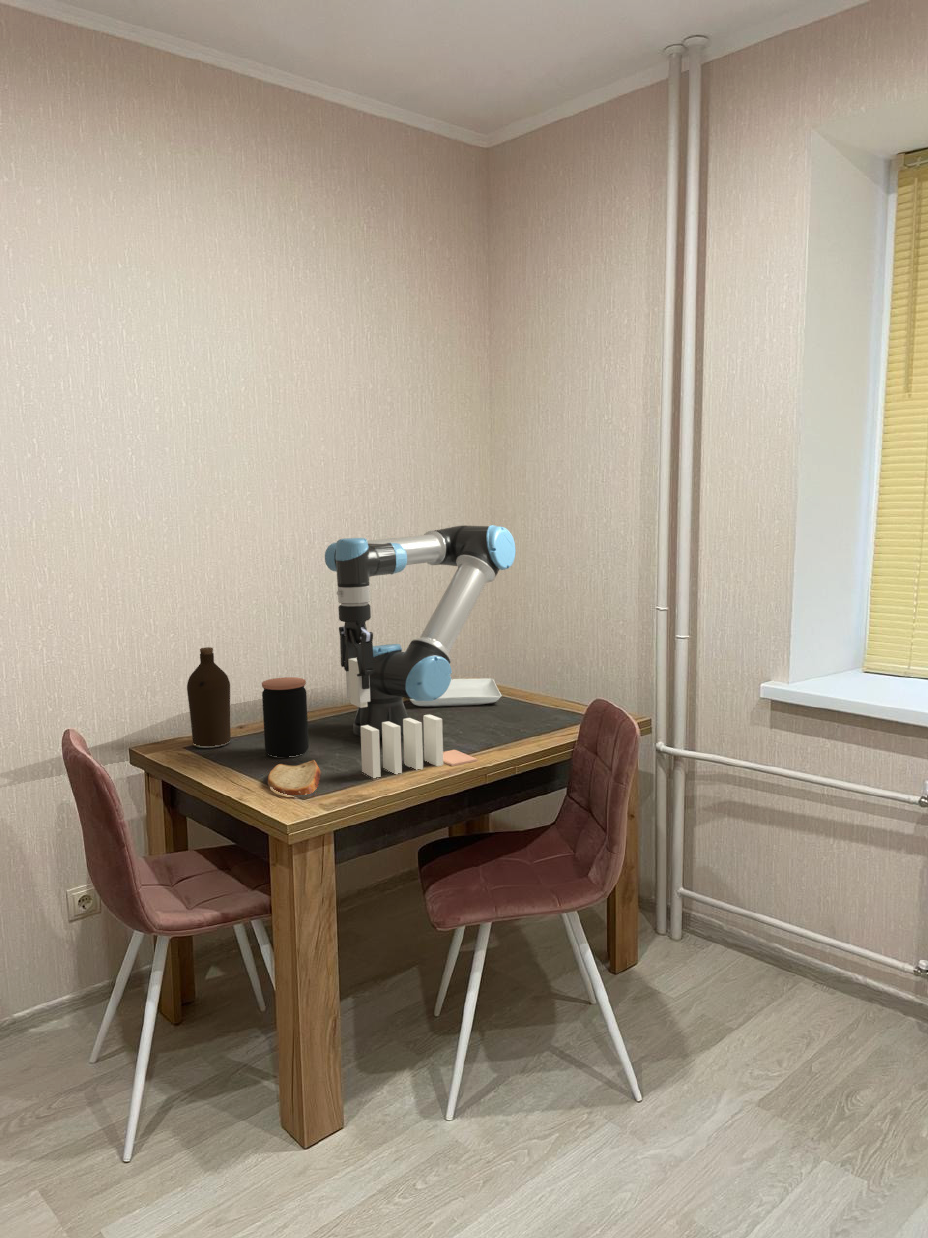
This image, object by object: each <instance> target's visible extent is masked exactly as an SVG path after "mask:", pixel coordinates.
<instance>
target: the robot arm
mask: <svg viewBox="0 0 928 1238" xmlns="http://www.w3.org/2000/svg"><path fill="white" fill-rule="evenodd" d="M515 558H516V543H515V539H514V536H513V535H512V533H511V532H510V531H509V529H508V528H506V527H503V526H498V525H495V524H494V525H493V524H492V525H488V526H487V525H455V526H451V527H446V528H441V529H436V530H428V531H426V532H425V533H424V534H422V535H412V536H402V537H392V538H382V539H381V538H380V539H372V540H367V539H366V538H365V537H350V538H348V537H347V538H340V539H338V540H337V541H336V542H333V543H331V544H330V545H328V546H327V548H326V549H325V552H324V562H325V564H326V566H327V568H328V569H329V570H330V571H332V572H336V579H337V581H336V582H337V591H336V595H337V598H338V599H337V601H338V603H339V604H340V605H339V606H338V620H339V621H340V622H343V623H344V626H339V627H338V633H339V641H340V642H339V644H340V666H341V668H343V669H344V671H345V678H346V680H345V681H346V683H345V684H346V698H347V699H350V684H349V664H348V659H351V658H357V663H358V668H359V674H357V676H358V696H359V703H364V702H367V707H363V708H360V707H358V706H357V710H356V713H355V717H354V721H353V726H352V727H353V728H352V729H353V734H354V735H356V736H359V737H361V726H364V725H369V726H371V727H373V728H376V729H378V730H379V739H382V722H388V721H389V722H392V723H394V724H396V725H399V726H401V736H402V735H403V736H404V734H403V719H406V718H409V715H408V712H407V709H406V706H405V705H404V699H409V700H410V699H413V700H416V701H433V700H436V699H438V698H439V697H441V696H442V695H443V694H444V693H445V692H446V690H447V689H448V687H449V685H450V682H451V679H452V676H451V675H452V674H453V673H452V667H451V662H452V660H451V656H450V652H451V650H452V648H453V647H454V644H455V643H456V640H457V639H458V637H459V635H460V633H461V631H462V629H463V628H464V626H465V624H466V622H467V620H468V618H469V616H470V614H471V612H472V610H473V608H474V607H475V605H476V603H477V601H478V599H479V597H480V595H481V593H482V592H483V590H484V588H485V586H486V584H487V583H492V582H493V581H495V578H496V577H497V575H498V573H499V572H500V571H505V570H508V569H510V568H511V567H512V565H513V564H514V562H515ZM418 564H428V565H430V566H438V565H439V566H440V565H441V566H449V567H450V566H452V567H457V569H456V571H455V572H454V575H453V577H452V578H451V579H450V582H449V584H448V585H447V587H446V589H445V591H444V592H443V595H442V596H441V599H440V600H439V603H438V604H437V606H436V608H435V609H434V611H433V613H432V615H431V617H430V618H429V620H428V622H427V624H426V626H425V628H424V629H423V631H422V633H421V634H420V636H419V637H418V638H415V639H412V640H411V641H410V643H409V645H408V647H407V648H406V649H405V651H403V648H402V646H401V645H400V644H399V643H391V644H390V643H389V644H381V645H373V644H374V643H373V641H374V640H373V639H374V633H373V632H372V631H368V629H367V624H366V622H367V621H370V620H371V617H372V615H371V614H372V613H371V605H370V603H369V602H370V601H371V589H370V587H371V586H370V578H371V577H376V576H385V575H386V576H387V575H394V574H398V573H401V572H403V571H404V570H405V568H406V566H410V565H418Z"/></svg>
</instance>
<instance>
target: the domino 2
mask: <svg viewBox="0 0 928 1238" xmlns="http://www.w3.org/2000/svg"><path fill="white" fill-rule="evenodd" d="M380 743H381V742H380V738H379V730H378V729H376V728H373V727H371V726H369V725H364V726H361V736H360V745H361V746H360V748H361V749H360V750H361V752H360V753H361V773H362V772H364V773H366V774H367V775H369V776H371V777H373V778H376V777H381V750H380V748H381V747H380V746H381V745H380ZM367 775H366V776H367ZM381 778H382V777H381Z"/></svg>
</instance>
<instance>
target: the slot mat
mask: <svg viewBox="0 0 928 1238" xmlns="http://www.w3.org/2000/svg"><path fill="white" fill-rule="evenodd" d="M469 762H470V763H474V762H478V759H477V758H476V757H473V756H471V755H468V754H466V753H463V752H461V751H459V750H457V749H451V750H445V751H443V764H446V765H447V766H451V767H455V766H459V765H460V766H461V765H465V764H470V763H469Z"/></svg>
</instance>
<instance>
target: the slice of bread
mask: <svg viewBox="0 0 928 1238" xmlns="http://www.w3.org/2000/svg"><path fill="white" fill-rule="evenodd" d="M321 773H322V772H321V769H320V767H319V766H318V763H317V762H316V761H315V759H312V760H310V761H307V762H303V763H300V764H298V765H288V764H283V763H279V764H276V765H275V766H273V768H272V769H271V770H270V771H269V774H268V775H267V785H268V784H269V785H271V786H272V787H273V789H274V790H276V791H278V792H280V793H283V794H287V795H307V794H311V793H313V792H314V791H315V790H316V789H317V787H318V788H319V785H320V781H321ZM319 780H320V781H319ZM318 784H319V785H318Z"/></svg>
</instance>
